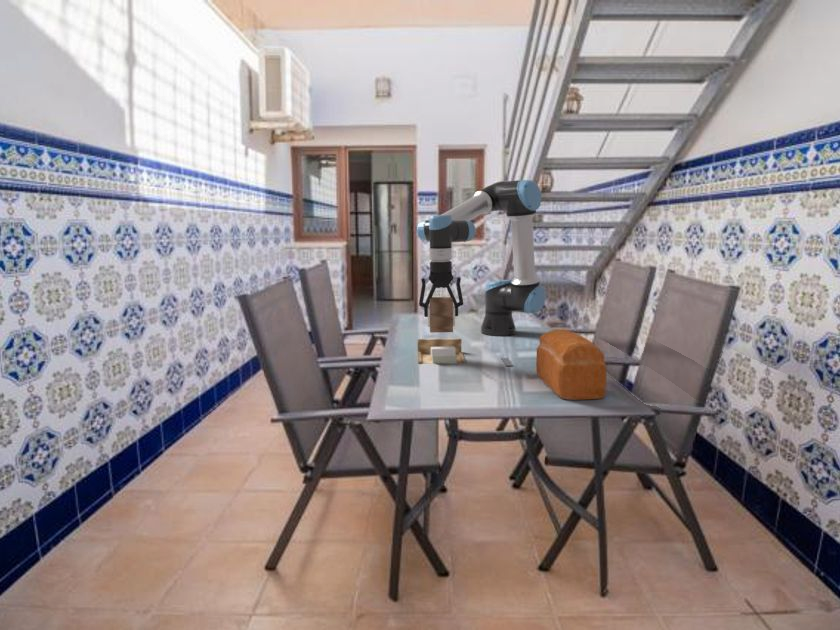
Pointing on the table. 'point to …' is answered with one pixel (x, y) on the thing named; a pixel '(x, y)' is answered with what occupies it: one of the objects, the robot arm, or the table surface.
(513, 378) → the table surface
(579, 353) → the bread
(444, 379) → the table surface
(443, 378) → the table surface
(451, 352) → the offcut upper
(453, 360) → the offcut lower
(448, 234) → the robot arm
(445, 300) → the walnut board
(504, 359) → the rubber mat
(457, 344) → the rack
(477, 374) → the table surface
